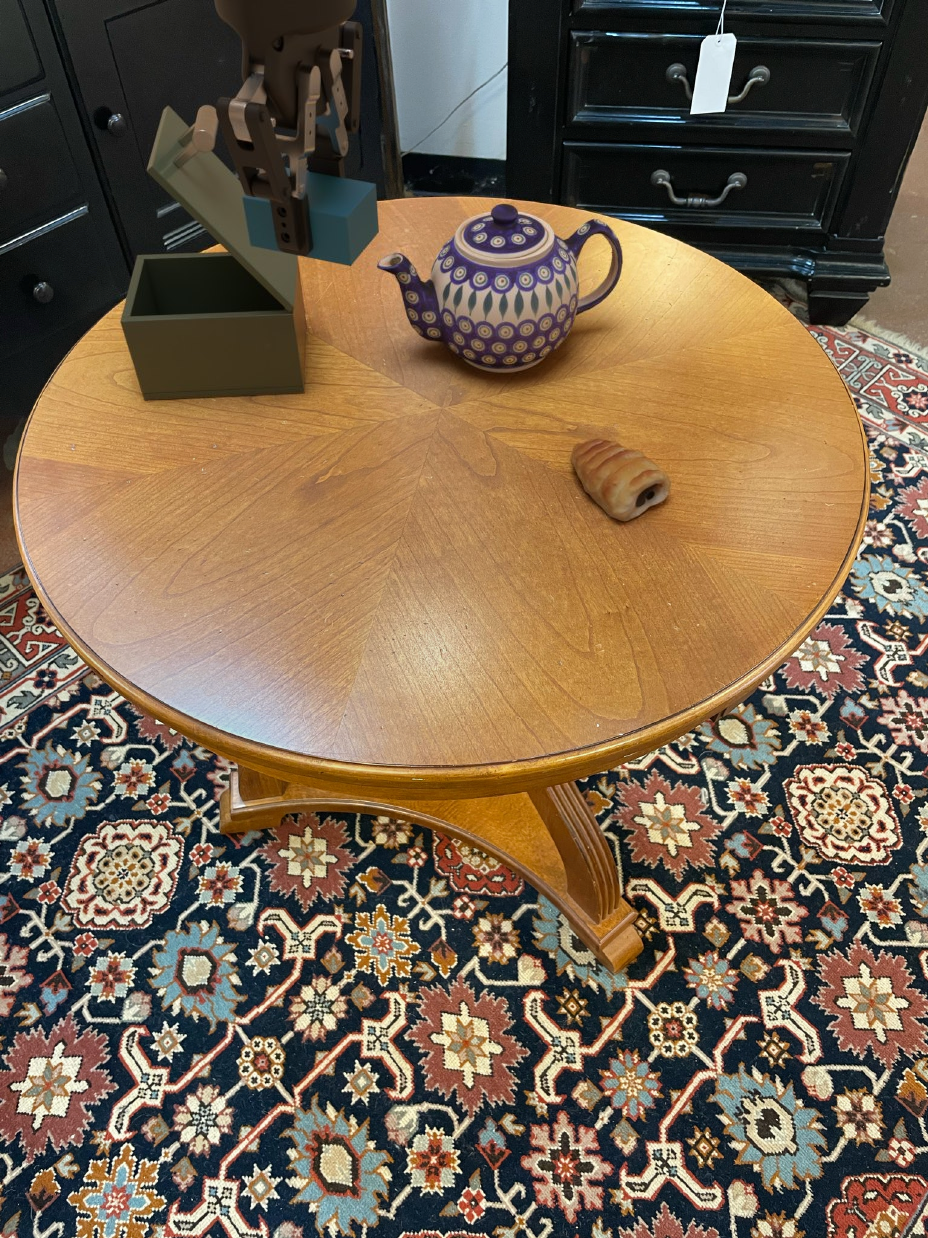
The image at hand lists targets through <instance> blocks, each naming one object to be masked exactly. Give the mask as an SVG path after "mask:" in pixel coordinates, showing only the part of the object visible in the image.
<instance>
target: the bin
mask: <svg viewBox="0 0 928 1238" xmlns="http://www.w3.org/2000/svg"><path fill="white" fill-rule="evenodd" d="M121 313H122V314H121V318H120V326H121V329H122V332H123V335H124V338H125V343H126V345H127V349H128V351H129V354H130V358H131V361H132V365H133V368H134V371H135V374H136V377H137V380H138V384H139V388H140V391H141V394H142V397H143V400H144V401H156V400H157V401H159V400H178V399H179V400H180V399H200V398H203V399H204V398H222V397H224V398H225V397H244V396H246V397H247V396H267V395H268V396H270V395H288V394H289V395H290V394H305V391H306V389H305V387H306V364H307V362H306V361H307V339H308V337H307V336H308V323H307V316H306V307H305V300H304V293H303V285H302V278H301V271H300V264H299V257H298V258H297V277H296V295H295V308H294V309H293V310H292V311H290V312H289V311H288V310H287V309H286V308H285V307H284V306H283V305H282V304H281V303H280V302H279V301H278V300H277V299H276V298H275V297H274V296H273V295H272V294H271V293H270V292H269V291H268V290H267V289H266V288H265V287H264V286H263V285H262V284H261V283H259V282H258V281H257V280H256V279H255V278H254V277H253V276H252V275H251V274H250V273H249V272H248V271H247V270H246V269H245V268H244V267H243V266H242V265H241V264H240V263H239V262H238V261H237V260H236V259H235V258H234V257H233V256H232V255H231V254H230V253H229V252H228V251H216V252H215V251H211V252H209V251H208V252H186V253H185V252H183V253H157V254H155V253H154V254H137V255H136V259H135V263H134V268H133V271H132V274H131V278H130V283H129V286H128V290H127V294H126V299H125V302H124V306H123V309H122V312H121Z"/></svg>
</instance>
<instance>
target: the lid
mask: <svg viewBox="0 0 928 1238" xmlns="http://www.w3.org/2000/svg"><path fill="white" fill-rule="evenodd" d="M219 125H220V124H219V121H218V118H217V115H216V107H214V106H212V105H211V104H204V105H202V106H201V107H199V109H198V111H197V115H196V119H195V122H194V123H193V124H192V125H191V126H190V127H189V126H188V124H187V123H186V122H184V120H183V119H182V118H181V117H180V116H179V115H178V113H177V112H176V111H175V110H173V108H172V107H170V105H167V106H166V107H164V109H163V110H162V113H161V118H160V121H159V125H158V128H157V132H156V135H155V139H154V143H153V146H152V150H151V153H150V157H149V161H148V165H147V168H146V172H147V174H149V176H151V177H152V178H153V180H154V181H156V182H157V183H158V184H159V185H160V186H161V187H162V189H164V190H165V191H166V192H167V193H168V194H169V195H170V197H172V198H173V199H174V200H175V201H176V202H177V203H178V204H179V205H180V206H181V207H182V208H183V209H184V210H185V211H186V212H187V213H188V214H189V215H190V216H191V217H192V218H193V219H194V220H195V221H196V222H197V223H198V224H199V225H200V226H201V227H202V228H203V229H204V230H206V232H207V233H209V235H211V236H212V238H214V239H215V241H217V242H218V244H220V245H221V246H222V247H223V248H224V249H225V250H226V252H229V253H230V254H231V255H232V256H233V257H234V258H235V259H236V260H237V261H238V262H239V263H240V264H241V265H242V266H243V267H244V268H245V269H246V270H247V271H248V272H249V273H250V274H251V275H252V276H253V277H254V278H255V279H256V280H257V281H258V282H259V283H261V284H262V285H263V286H264V287H265V288H266V289H267V290H268V291H269V292H270V293H271V294H272V295H273V296H274V297H275V298H276V299H277V300H278V301H279V302H280V303H281V304H282V305H283V306H284V307H285V308H286V309H287V310H288V311H289V312H290V311H292V310H293V309H294V308H295V295H296V277H297V258H298V259H299V257H298V255H293V254H288V253H283V252H278V251H273V250H269V249H264V248H259V247H254V246H251V245H250V240H249V234H248V228H247V223H246V217H245V211H244V206H243V200H242V197H243V196H244V195H245V193H244V190H243V188H242V185H241V182H240V179H239V178H238V177H236V175H235V174H234V173H233V172H232V170H231V169H229V167H228V166H226V164H224V163H223V161H221V159H220V158H219V157H218V156H217V155H216V154H215V153H214V152H213V150H214V148H215V144H216V140H217V134H218V128H219Z"/></svg>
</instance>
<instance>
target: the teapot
mask: <svg viewBox="0 0 928 1238" xmlns="http://www.w3.org/2000/svg"><path fill="white" fill-rule="evenodd" d="M594 235H602V236H603V237H604V238H605V240H606V241H607V242H608V244H609V246H610V248H611V261H610V262H611V263H610V267H609V270H608V273H607V276H606V277H605V278H604V280H603V281H602V283H600V284H599V286H597V288H595V289H594V290H593V291H591V292H590V293H588V294H587V295H585V296H583V297H581V298H580V280H579V272H578V266H577V263H578V261H579V258H580V255H581V252H582V250H583V248H584V246H585V244H586V242H587V241H588V240H589V239H590V238H591V237H592V236H594ZM623 264H624V260H623V249H622V246H621V241H620V240H619V238H618V237H617V235H616V233H615V231H614V230H613V229H612V228H611V227H610V226H609V225H608V224H607V223H606V222H604V221H602V220H601V219H599V218H593V219H592V218H591V219H590V220H587V221H586V222H585V223H583V224H582V225H581V226H579V227H578V228H577V229H576V230H575V231H574V232H573V233H572V234H571V235H570V236H569V237H567V238H565V239H563V238H561V237H560V236H558V235H556V234H555V231H554V230H553V228H552V227H551V225H550V224H549V223H548V222H546V221H545V220H544V219H542V218H540V217H538V216H536V215H533V214H531V213H527V212H523V211H518V209H517V207H515V206H514V205H512V204H509V203H499V204H496V205H495V206H493V208H492V209H491V210H490V211H487V212H482V213H478V214H477V215H473V216H470V217H469V218H467V219H465V220H464V221H463V222H462V223H460V225H459V226H458V227H457V228H456V230H455V234H454V235H453V236H451V238H450V239H448V240H447V241H446V242H445V243H444V245H443V246H441V248H440V250H439V251H438V252H437V255H436V256H435V259H434V261H433V264H432V266H431V271H430V278H428V280H426V281H423V280H422V279H421V277H420V276H419V273H418V271H417V268H416V267H415V266H414V265H413V263H412V262H411V261H410V259H409V258H408V257H406V255H404V254H402V253H400V252H394V253H390V254H388V255H386V256H385V257H383V258H381V260H379V262H378V263H377V264H376V268H377V269H379V270H381V271H383V272H386V273H389V274H391V275H393V276H394V277H395V279H396V281H397V283H398V286H399V289H400V293H401V297H402V302H403V306H404V310H405V314H406V318H407V320H408V322H409V324H410V326H411V328H412V329H413V331H415V332H416V333H417V334H418V335H419V336H420V337H421V338H422V339H425V340H427V341H429V342H438V343H442V344H443V345H445V346H446V347H447V348H448V349H449V350H450V351H451V352H452V353H454V354H455V355H457V356H458V357H460V358H461V359H463V360H464V361H465V362H466V363H468V364H469V365H471V366H473V367H474V368H476V369H479V370H483V371H487V372H491V373H498V374H499V373H503V374H506V373H516V372H521V371H525V370H528V369H530V368H532V367H534V366H536V365H538V364H539V363H541V362H542V361H543V360H544V359H545V358H546V357H547V356H548V355H550V354H551V353H552V352H554V351H556V350H557V349H559V348H560V346H561V345H562V344H563V343H564V342H565V340H566V339H567V337H568V335H569V334H570V332H571V330H572V327H573V324H574V323H575V320H576V317H577V316H578V315H580V314H582V313H584V312H587V311H589V310H591V309H593V308H595V307H597V306H598V305H599V304H600V303H602V302H603V301H604V300H606V299H607V298H608V297H609V296H610V294H612V292H613V291H614V289H615V288H616V286H617V284H618V282H619V281H620V278H621V274H622V269H623Z"/></svg>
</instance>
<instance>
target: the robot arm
mask: <svg viewBox="0 0 928 1238" xmlns="http://www.w3.org/2000/svg"><path fill="white" fill-rule="evenodd" d="M213 1H214V7H215V10H216V13H217V14H218V16H219V18H220V19H221V20H222V21H223V22H224V23H225V24H226V25H229V26H230V27H231V28H232V29H233V30H234V31H235V32H236V34H237V35H238V36H239V37H240V39H241V42H242V43H241V48H242V49H241V50H242V58H241V78H242V82H243V85H242V87H241V88H240V89H239V91H238V93H237V95H236V96H235V98H231V97H225V96H220V97H219V98H218V99H217V101H216V104H215V109H216V115H217V118H218V121H219V124H218V125H219V127H220V129H221V133H222V135H223V137H224V141H225V144H226V146H227V149H228V152H229V155H230V158H231V161H232V163H233V166H234V168H235V171H236V174H237V176H238V177H237V178H238V180H239V181H240V182H241V185H242V188H243V190H244V193H245V195H246V196H250V197H259V198H264V199H269V200H270V204H271V211H272V217H273V224H274V231H275V237H276V242H277V246H278V248H279V249H280V250H281V251H282V252H284V253H289V254H294V255H299V257H303V256H307V255H308V254H309V253H310V252H311V251H312V249H313V239H312V231H311V223H310V214H309V209H310V208H309V200H308V194H305V193H306V175H307V171H308V172H313V173H319V174H324V175H330V176H335V177H341V178H346V173H345V162H344V157H345V156H346V155H347V153H348V150H349V138H348V135H349V134H356V133H358V131H359V127H360V113H361V112H360V110H361V89H362V88H361V84H362V59H363V58H362V57H363V56H362V55H363V26H362V24H361V23H360V22H357V21H351V20H350V21H349V19H350V18H351V17H352V16H353V14H354V13H355V10H356V8H357V4H358V3H357V2H358V0H213ZM274 128H278V129H284V130H290V131H296V132H297V134H296V136H295V137H293V136H286V135H281V134H277V133H276V132H275V130H274ZM282 154H285V155H287V156H288V157H289V168H290V175H288V174H287V171H286V168H287V167H286V165H285V161H284V159H283V155H282ZM285 167H286V168H285ZM258 170H259V171H258Z"/></svg>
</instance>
